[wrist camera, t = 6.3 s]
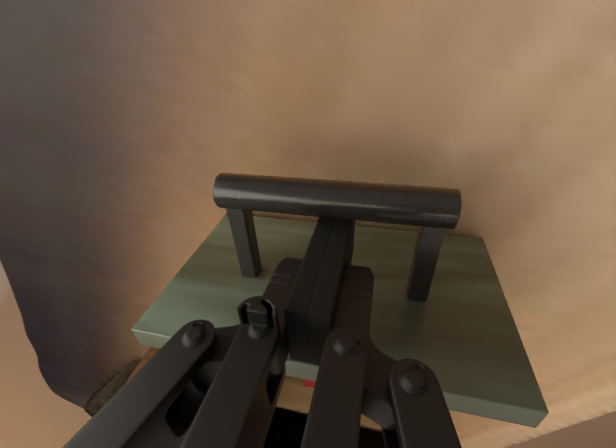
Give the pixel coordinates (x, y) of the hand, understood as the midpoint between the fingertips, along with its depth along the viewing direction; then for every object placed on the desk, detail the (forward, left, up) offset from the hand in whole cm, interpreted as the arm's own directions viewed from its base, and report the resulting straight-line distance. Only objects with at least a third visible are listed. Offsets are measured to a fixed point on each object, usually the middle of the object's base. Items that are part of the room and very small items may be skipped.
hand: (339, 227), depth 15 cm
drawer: (+6, +6, -4) cm, 10 cm away
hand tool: (+48, +1, -5) cm, 48 cm away
